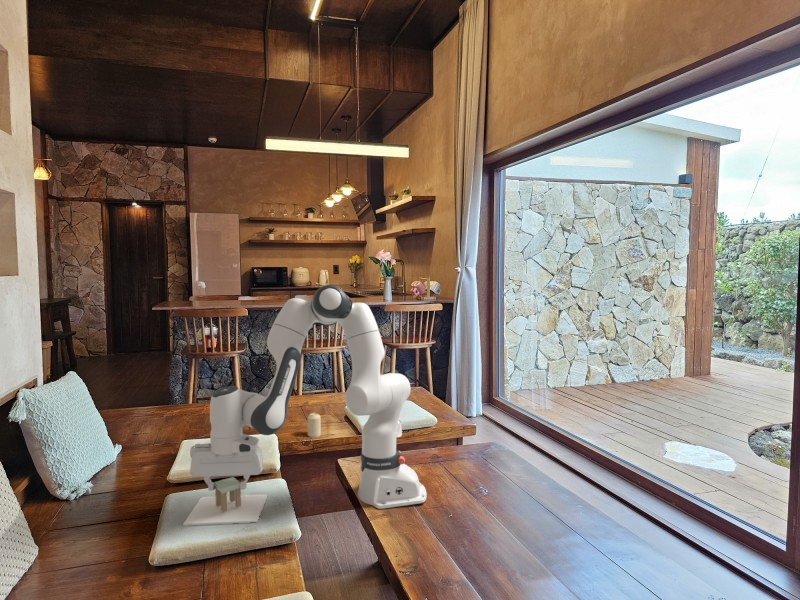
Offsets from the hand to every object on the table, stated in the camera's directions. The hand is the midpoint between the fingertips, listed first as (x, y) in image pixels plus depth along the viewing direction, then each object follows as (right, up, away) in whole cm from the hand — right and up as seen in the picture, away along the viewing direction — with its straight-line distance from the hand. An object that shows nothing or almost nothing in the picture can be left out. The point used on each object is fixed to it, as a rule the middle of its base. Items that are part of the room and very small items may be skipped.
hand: (227, 489), depth 143 cm
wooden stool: (0, -5, +1) cm, 5 cm away
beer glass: (+48, -12, +69) cm, 85 cm away
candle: (+14, -3, +63) cm, 64 cm away
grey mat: (0, -6, 0) cm, 6 cm away
